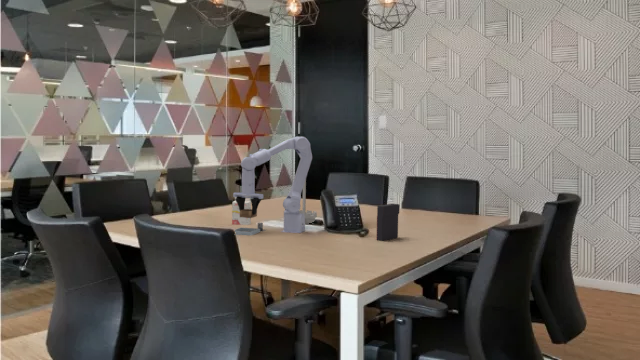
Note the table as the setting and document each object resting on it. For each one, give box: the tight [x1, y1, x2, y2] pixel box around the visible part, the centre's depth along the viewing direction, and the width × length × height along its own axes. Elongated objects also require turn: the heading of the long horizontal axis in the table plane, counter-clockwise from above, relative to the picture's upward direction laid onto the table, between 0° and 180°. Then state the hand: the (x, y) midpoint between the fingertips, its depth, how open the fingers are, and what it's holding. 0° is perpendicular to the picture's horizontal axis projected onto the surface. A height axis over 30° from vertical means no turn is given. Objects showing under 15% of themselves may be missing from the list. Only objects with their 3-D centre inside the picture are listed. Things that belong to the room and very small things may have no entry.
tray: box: [234, 227, 261, 236], centre depth 252 cm, size 10×10×2 cm
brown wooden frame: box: [240, 208, 258, 219], centre depth 254 cm, size 7×6×3 cm
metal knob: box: [257, 222, 267, 232], centre depth 260 cm, size 5×5×4 cm
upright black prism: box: [376, 203, 400, 242], centre depth 243 cm, size 11×4×15 cm, turn 134°
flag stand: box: [299, 178, 318, 225], centre depth 287 cm, size 13×13×30 cm
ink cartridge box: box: [231, 196, 252, 226], centre depth 277 cm, size 9×5×15 cm, turn 84°
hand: (248, 213), depth 253 cm, fingers closed on brown wooden frame, 6 cm apart
